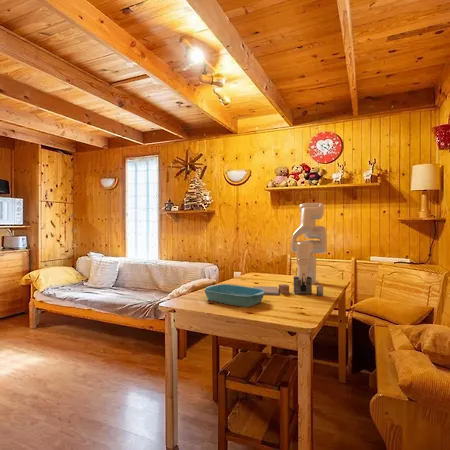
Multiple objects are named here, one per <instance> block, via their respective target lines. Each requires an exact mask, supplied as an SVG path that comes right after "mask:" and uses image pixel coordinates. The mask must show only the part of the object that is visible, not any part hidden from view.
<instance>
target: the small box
mask: <svg viewBox="0 0 450 450" xmlns="http://www.w3.org/2000/svg"><path fill="white" fill-rule="evenodd" d="M302 280H303V279H302ZM312 286H313V284H312V278H311V277H307V280H306V292H301V280H299V277H298V276H297V275H296V276H293V294H294V295H309V296H310V295H311V296H312V294H313V293H312V289H313V287H312Z"/></svg>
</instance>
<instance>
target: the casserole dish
mask: <svg viewBox="0 0 450 450" xmlns="http://www.w3.org/2000/svg"><path fill="white" fill-rule="evenodd" d="M203 290H204V293H205V296H206V297H207V300H209V301H210V302H213V301H214V302H213V303H217V302H219V303H218V304H222V303H224V304H223V305H228V304H229V305H228V306H233V305H235V306H236V307H239V306H240V308H249V307H250V308H251V307H252V306H255V305H257V304H259V303H260V302H262V301H263V299H264V296H265V295H264V294H265V290H263V289H259V288H253V287H251V286H244V285H238V284H231V283H229V284H228V283H224V284H223V283H221V284H214V285H213V284H212V285H209V286H206V287H205V288H204V289H203ZM235 306H234V307H235Z"/></svg>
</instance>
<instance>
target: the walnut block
mask: <svg viewBox="0 0 450 450" xmlns="http://www.w3.org/2000/svg"><path fill="white" fill-rule="evenodd" d="M278 291H279V294H281V295H287V294H288V295H289V294H290V285H288V284H285V283H284V284H278Z"/></svg>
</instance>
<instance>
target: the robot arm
mask: <svg viewBox="0 0 450 450" xmlns="http://www.w3.org/2000/svg"><path fill="white" fill-rule="evenodd" d="M298 207H299V209H298V210H299V212H300V218H299V227H298V228H297V229H296V230H294V232H293V234H292V236H291V242H290V248H291V252H292V253H296V265H297V275H296V276H298V277H299V280H301V292H306V280H307V277H311V278H312V285H316V284H317V285H318V284H319V280H317V257H316V256H315V255H314V254H325V253H326V252H327V229H326V226H323V225H316V224H317V223H316V220H321V219H323V217H324V213H325V205H324V203H323V202H303V203H301V204H299V206H298ZM302 235H303V236H304V238H305V239H307V240H303V241H302V240H297V239H298V237H300V236H302ZM310 239H311V240H310ZM316 239H317V240H316ZM302 279H303V280H302Z"/></svg>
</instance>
